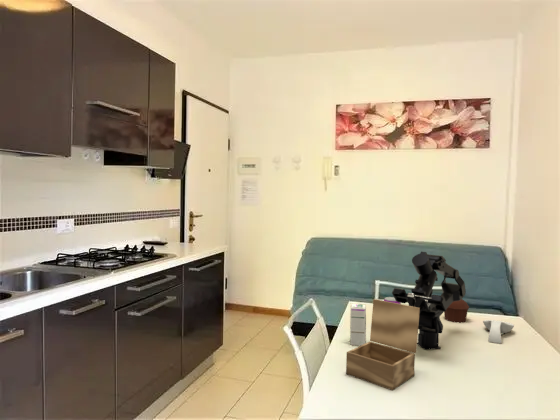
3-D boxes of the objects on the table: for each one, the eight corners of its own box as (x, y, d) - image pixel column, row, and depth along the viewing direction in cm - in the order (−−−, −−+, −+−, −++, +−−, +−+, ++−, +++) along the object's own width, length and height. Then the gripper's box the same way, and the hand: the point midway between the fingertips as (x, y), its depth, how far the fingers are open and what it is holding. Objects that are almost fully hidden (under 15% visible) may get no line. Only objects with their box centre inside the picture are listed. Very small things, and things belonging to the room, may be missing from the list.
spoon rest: (483, 325, 190) (484, 309, 190) (514, 330, 184) (514, 313, 184) (478, 341, 170) (479, 323, 169) (512, 346, 164) (513, 328, 164)
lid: (369, 340, 146) (371, 340, 146) (414, 353, 135) (416, 352, 136) (373, 299, 146) (375, 299, 147) (418, 308, 135) (420, 307, 136)
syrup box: (365, 346, 161) (366, 307, 160) (349, 345, 162) (350, 306, 161) (365, 341, 166) (366, 304, 166) (350, 340, 168) (351, 303, 167)
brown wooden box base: (369, 361, 146) (369, 341, 146) (414, 375, 135) (414, 353, 135) (346, 374, 135) (346, 352, 135) (392, 390, 125) (393, 366, 124)
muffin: (449, 315, 206) (450, 294, 206) (472, 320, 198) (473, 298, 198) (437, 319, 198) (438, 297, 198) (461, 325, 190) (462, 302, 189)
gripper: (456, 300, 156) (443, 337, 148) (408, 291, 168) (393, 325, 161) (448, 281, 150) (434, 319, 142) (399, 274, 162) (383, 308, 155)
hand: (410, 319), depth 150 cm, fingers closed
